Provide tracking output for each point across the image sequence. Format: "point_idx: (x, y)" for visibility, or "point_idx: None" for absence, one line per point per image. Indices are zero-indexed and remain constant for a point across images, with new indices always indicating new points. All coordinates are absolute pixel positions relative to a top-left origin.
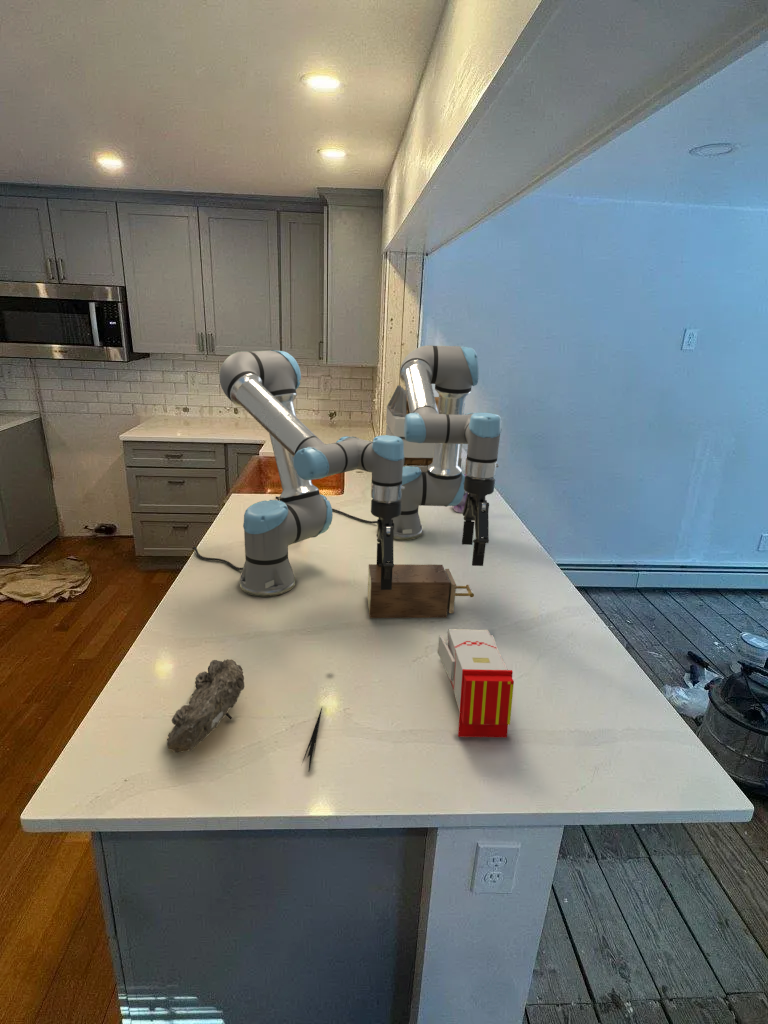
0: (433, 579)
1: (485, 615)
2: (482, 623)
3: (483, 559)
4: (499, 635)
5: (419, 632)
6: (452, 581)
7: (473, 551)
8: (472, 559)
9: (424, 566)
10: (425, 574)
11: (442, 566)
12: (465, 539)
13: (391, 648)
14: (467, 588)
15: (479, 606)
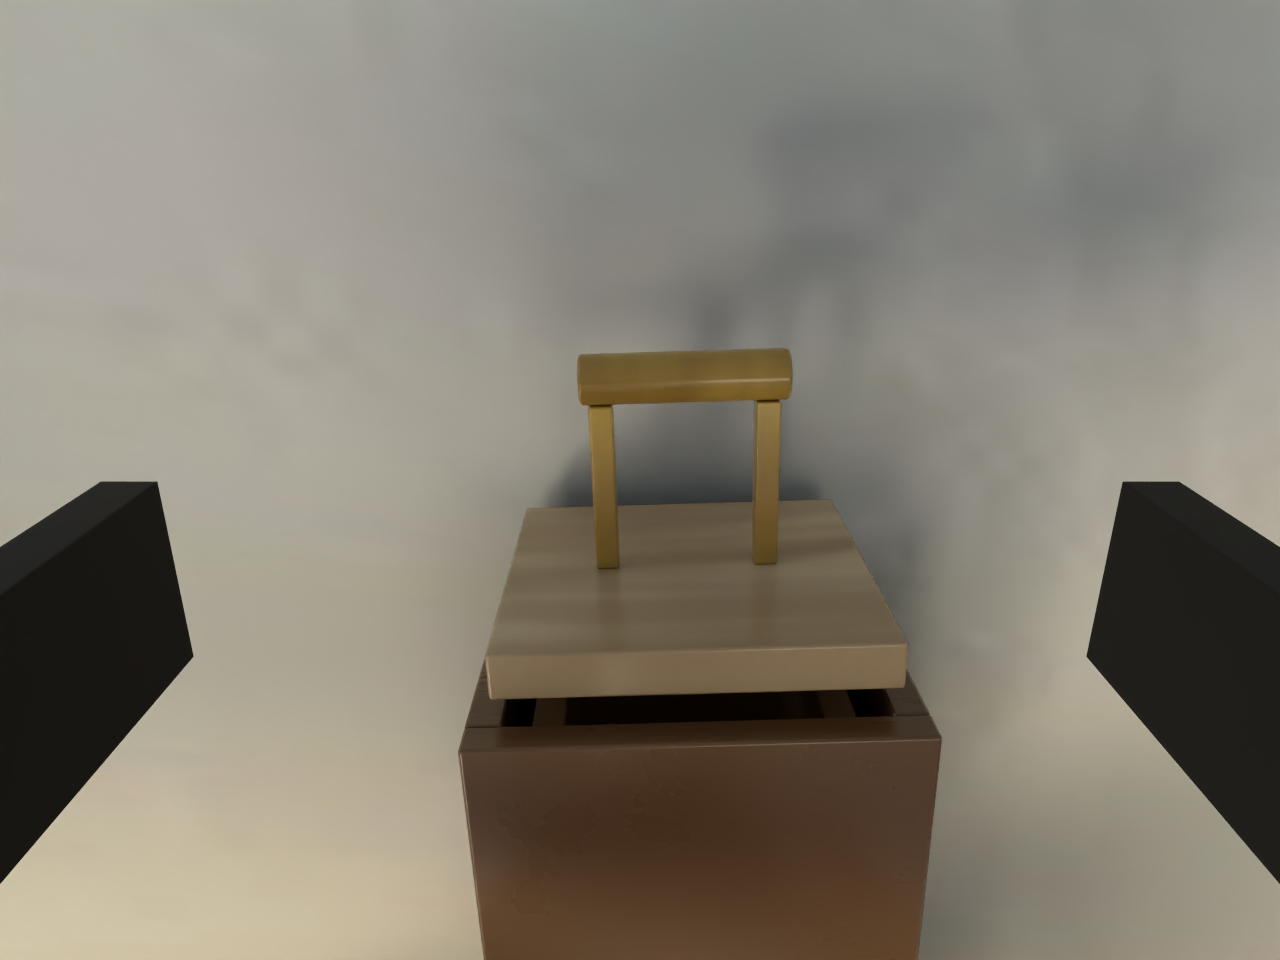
0: (858, 881)
1: (822, 196)
2: (958, 258)
3: (1259, 544)
4: (1175, 146)
5: (1024, 741)
6: (832, 670)
7: (1272, 846)
8: (1146, 717)
9: (534, 928)
10: (735, 937)
11: (516, 758)
12: (127, 672)
13: (1176, 900)
14: (659, 402)
15: (653, 217)
